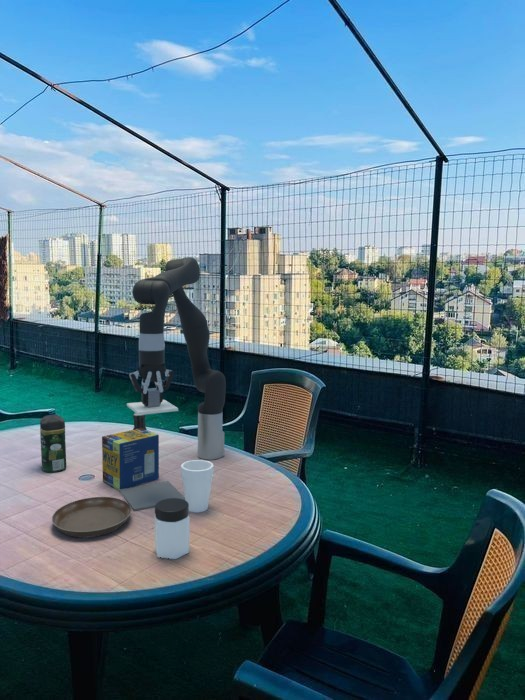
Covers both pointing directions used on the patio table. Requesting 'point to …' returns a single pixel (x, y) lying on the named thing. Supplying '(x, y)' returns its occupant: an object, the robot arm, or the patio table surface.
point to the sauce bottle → (139, 421)
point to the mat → (149, 494)
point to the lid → (152, 404)
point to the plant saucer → (91, 516)
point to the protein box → (130, 458)
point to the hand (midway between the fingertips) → (152, 404)
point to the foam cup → (197, 483)
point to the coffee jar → (53, 443)
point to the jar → (172, 528)
